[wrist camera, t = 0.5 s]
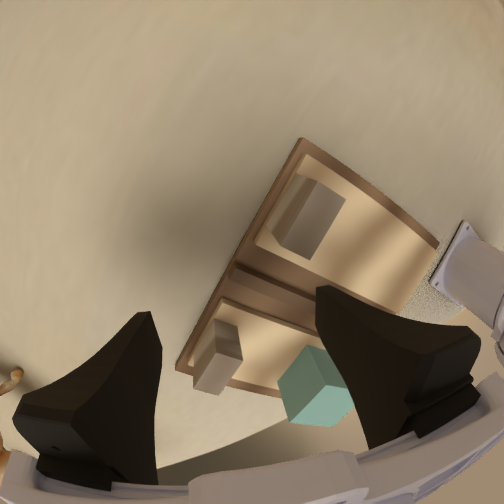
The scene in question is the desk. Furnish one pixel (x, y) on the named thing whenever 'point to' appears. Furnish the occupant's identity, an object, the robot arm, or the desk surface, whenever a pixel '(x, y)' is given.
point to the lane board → (284, 267)
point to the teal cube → (314, 389)
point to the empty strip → (345, 236)
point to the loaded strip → (246, 348)
